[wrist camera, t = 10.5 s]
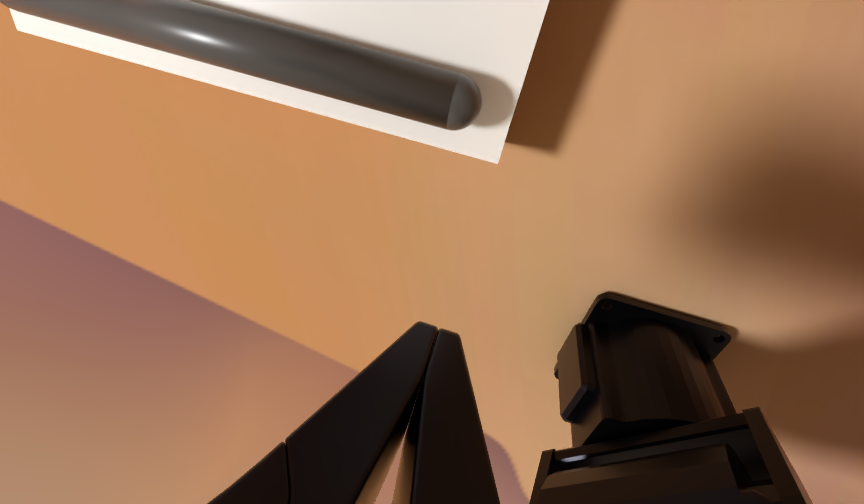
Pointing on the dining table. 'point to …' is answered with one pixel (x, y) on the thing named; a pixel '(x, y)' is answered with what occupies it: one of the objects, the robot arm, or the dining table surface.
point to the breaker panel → (378, 29)
